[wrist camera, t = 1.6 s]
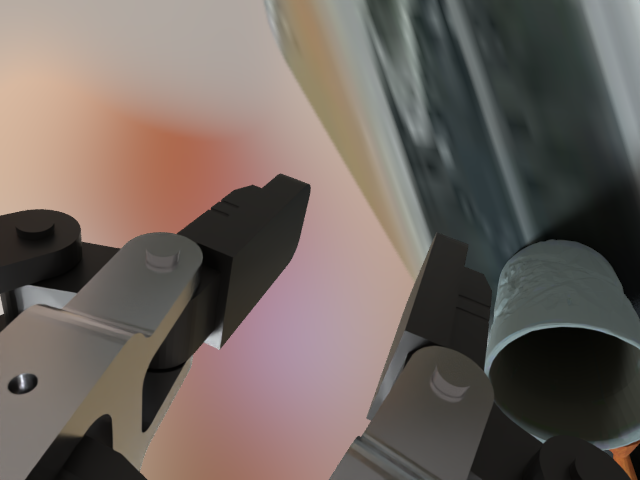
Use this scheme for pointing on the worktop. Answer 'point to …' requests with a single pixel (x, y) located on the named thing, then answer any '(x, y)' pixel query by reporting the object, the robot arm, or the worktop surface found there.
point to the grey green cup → (566, 346)
